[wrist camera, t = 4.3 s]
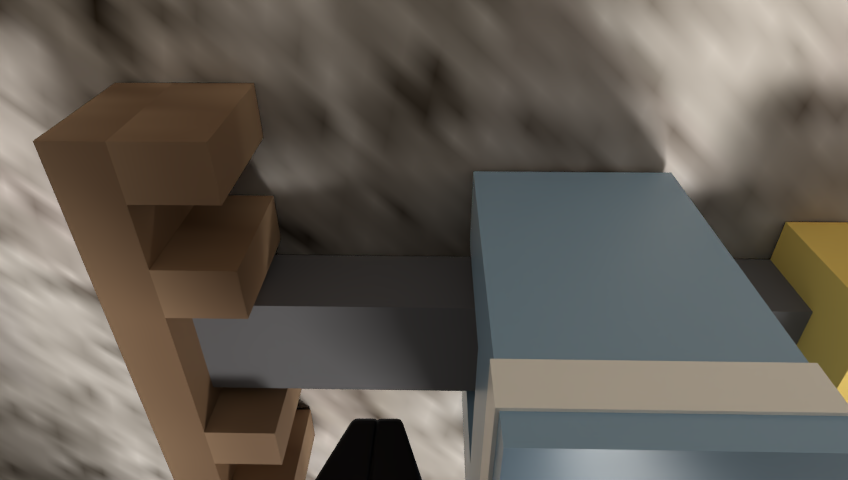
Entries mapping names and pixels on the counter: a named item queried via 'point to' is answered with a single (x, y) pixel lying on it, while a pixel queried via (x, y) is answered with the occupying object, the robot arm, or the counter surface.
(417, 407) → the counter surface
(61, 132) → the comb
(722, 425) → the sleeve
